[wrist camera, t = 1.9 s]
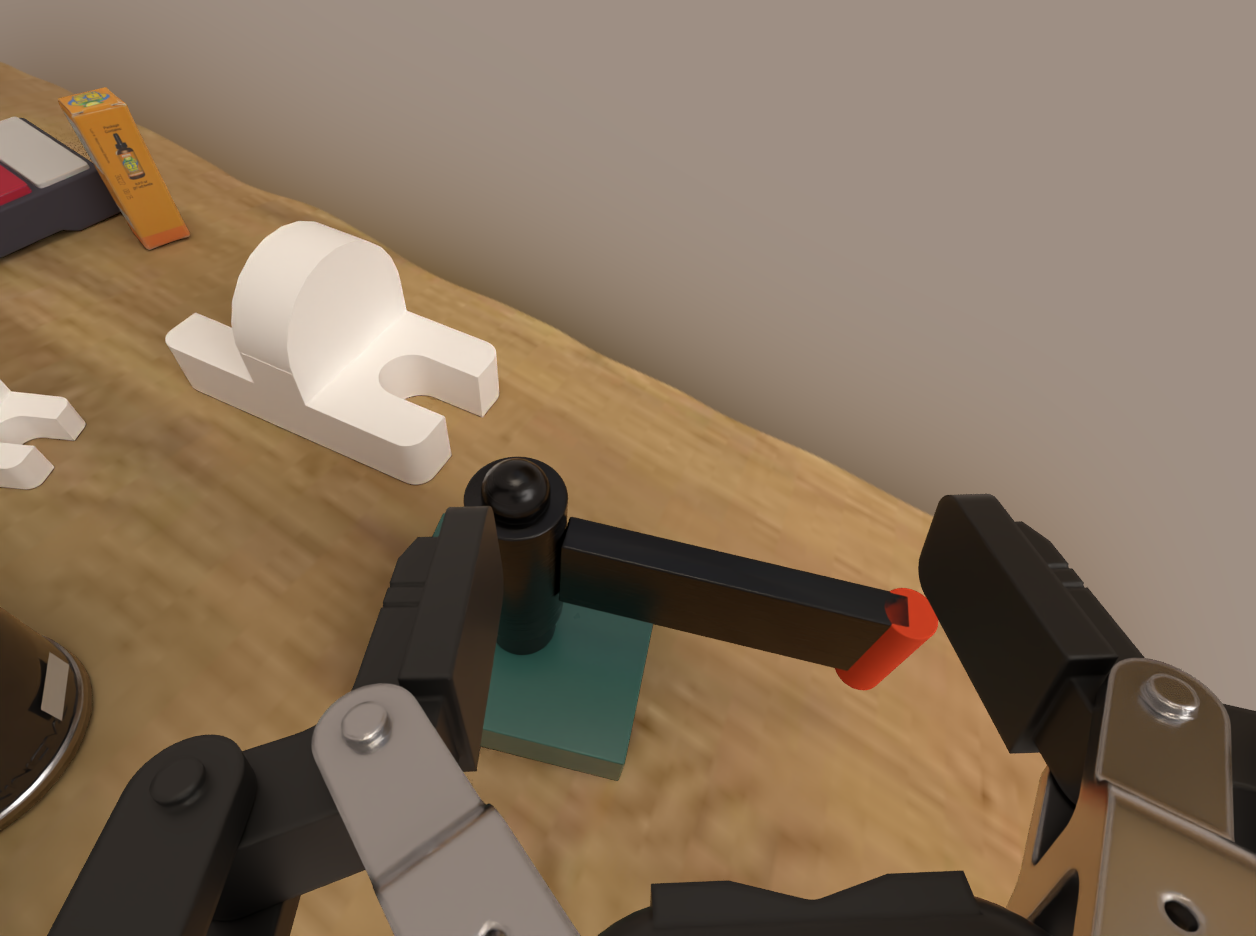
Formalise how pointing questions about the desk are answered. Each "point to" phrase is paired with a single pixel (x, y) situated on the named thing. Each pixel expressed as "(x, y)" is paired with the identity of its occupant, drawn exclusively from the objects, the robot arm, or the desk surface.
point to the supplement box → (125, 165)
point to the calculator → (45, 187)
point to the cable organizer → (31, 434)
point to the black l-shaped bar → (683, 584)
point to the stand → (568, 691)
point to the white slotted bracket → (337, 353)
